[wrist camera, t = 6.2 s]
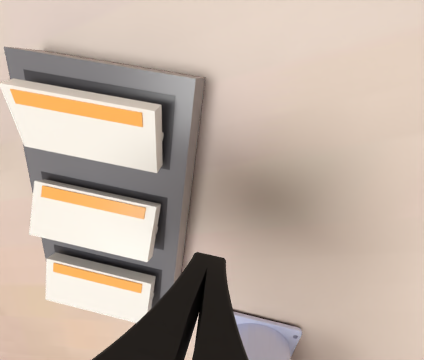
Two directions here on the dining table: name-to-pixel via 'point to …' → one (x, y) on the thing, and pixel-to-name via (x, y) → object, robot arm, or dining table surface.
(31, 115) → the rocker
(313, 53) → the dining table surface
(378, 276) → the dining table surface
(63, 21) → the dining table surface
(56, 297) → the rocker
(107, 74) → the switch panel
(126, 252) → the rocker middle
